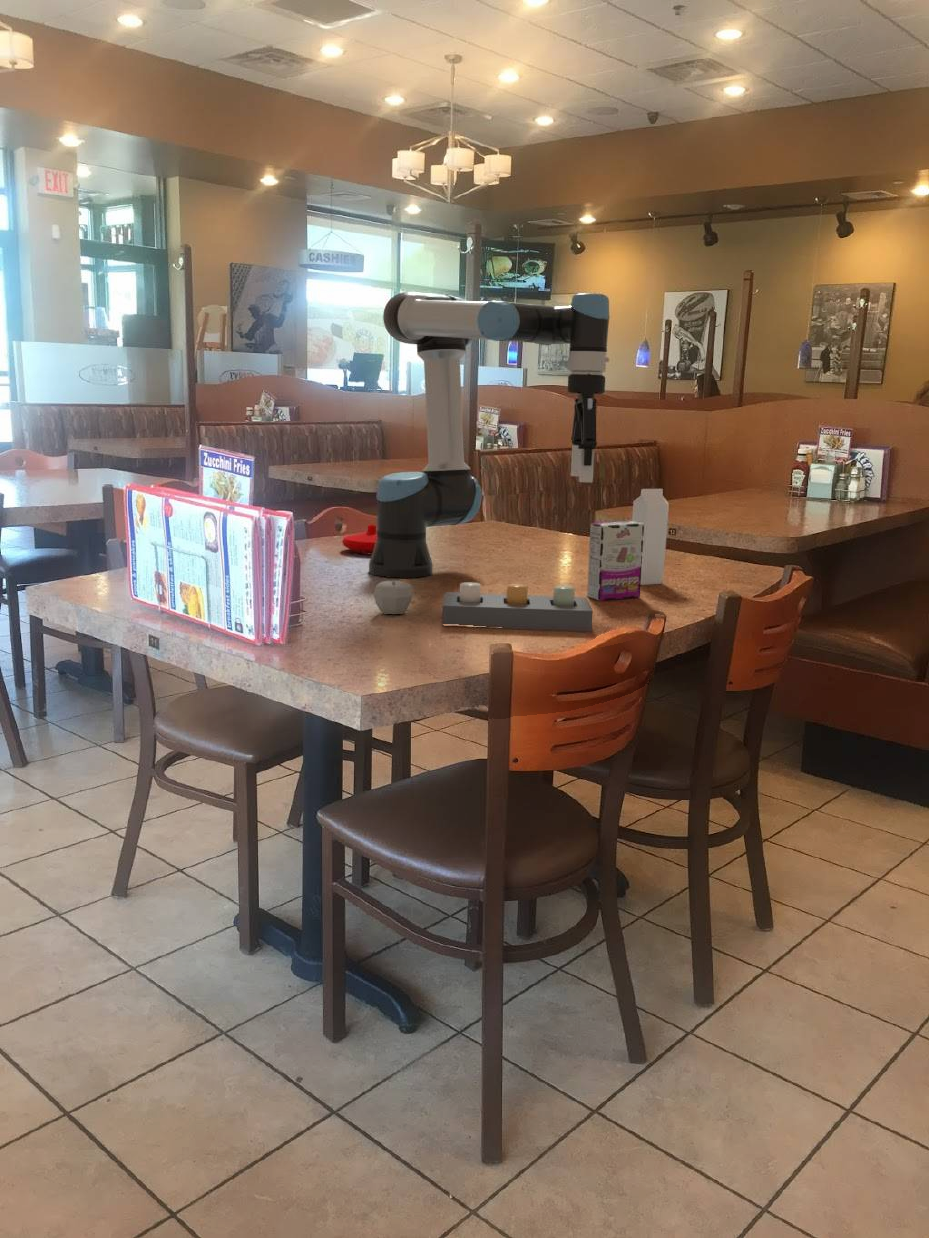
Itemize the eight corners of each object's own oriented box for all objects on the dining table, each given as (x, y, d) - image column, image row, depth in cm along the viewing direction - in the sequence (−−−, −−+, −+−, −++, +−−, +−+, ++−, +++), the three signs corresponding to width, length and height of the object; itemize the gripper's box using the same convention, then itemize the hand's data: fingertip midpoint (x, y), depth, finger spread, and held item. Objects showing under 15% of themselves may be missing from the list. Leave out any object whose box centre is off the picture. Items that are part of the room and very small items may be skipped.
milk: (662, 584, 235) (671, 490, 230) (641, 585, 233) (648, 490, 228) (648, 579, 241) (656, 487, 235) (626, 580, 238) (634, 487, 233)
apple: (397, 620, 191) (398, 587, 190) (364, 614, 195) (365, 581, 194) (421, 613, 198) (422, 580, 196) (389, 607, 202) (389, 575, 200)
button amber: (506, 610, 191) (507, 587, 190) (505, 606, 195) (506, 583, 194) (527, 611, 191) (528, 588, 190) (526, 607, 195) (527, 584, 194)
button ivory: (459, 609, 191) (459, 586, 190) (459, 604, 195) (460, 582, 194) (480, 610, 191) (480, 586, 190) (480, 605, 195) (480, 582, 194)
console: (442, 626, 188) (442, 605, 187) (444, 612, 199) (445, 592, 198) (591, 631, 187) (592, 611, 186) (585, 617, 199) (586, 597, 198)
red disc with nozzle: (350, 545, 274) (350, 520, 273) (406, 549, 272) (407, 523, 271) (335, 555, 259) (335, 528, 258) (394, 558, 257) (395, 531, 256)
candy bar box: (626, 593, 223) (632, 520, 219) (640, 598, 219) (646, 523, 215) (585, 597, 218) (589, 522, 214) (598, 601, 214) (603, 525, 210)
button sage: (553, 612, 191) (554, 589, 190) (551, 608, 195) (553, 585, 194) (574, 613, 191) (575, 590, 190) (572, 608, 195) (573, 586, 194)
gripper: (615, 373, 191) (608, 485, 195) (596, 375, 215) (591, 474, 220) (576, 372, 190) (570, 484, 195) (561, 374, 215) (556, 473, 220)
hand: (581, 479), depth 208 cm, fingers open, 13 cm apart
